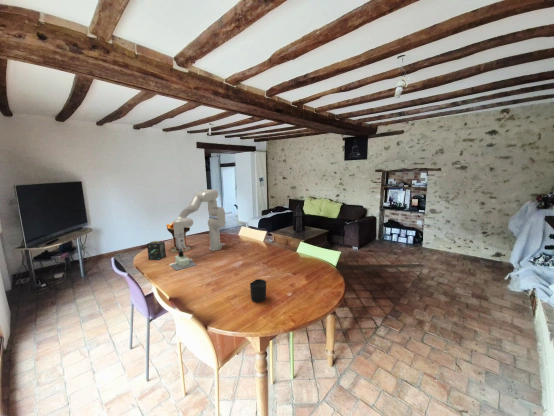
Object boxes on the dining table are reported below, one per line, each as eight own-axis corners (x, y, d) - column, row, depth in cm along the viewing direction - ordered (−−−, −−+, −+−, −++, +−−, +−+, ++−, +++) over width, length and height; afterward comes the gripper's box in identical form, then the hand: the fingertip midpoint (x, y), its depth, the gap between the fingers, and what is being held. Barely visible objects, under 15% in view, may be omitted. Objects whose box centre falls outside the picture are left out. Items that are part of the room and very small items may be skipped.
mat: (191, 261, 193) (191, 260, 193) (196, 265, 184) (196, 264, 184) (171, 266, 183) (171, 265, 183) (176, 270, 174) (175, 270, 174)
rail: (191, 260, 195) (191, 258, 195) (192, 260, 194) (192, 259, 194) (169, 265, 184) (169, 264, 184) (170, 266, 182) (170, 264, 182)
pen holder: (267, 301, 130) (267, 285, 129) (251, 304, 128) (250, 287, 127) (265, 293, 139) (264, 278, 138) (249, 295, 137) (249, 280, 136)
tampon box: (166, 256, 206) (164, 240, 204) (160, 260, 197) (158, 243, 195) (155, 255, 207) (153, 240, 205) (148, 259, 198) (146, 243, 196)
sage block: (183, 254, 191) (188, 259, 183) (184, 259, 192) (189, 264, 184) (175, 256, 187) (180, 261, 178) (175, 261, 188) (180, 267, 179)
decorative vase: (188, 252, 214) (185, 223, 210) (164, 253, 214) (160, 225, 210) (196, 245, 234) (193, 219, 230) (175, 246, 235) (171, 220, 231)
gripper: (187, 235, 181) (188, 257, 184) (181, 232, 192) (182, 252, 195) (177, 237, 176) (179, 259, 179) (171, 233, 187) (173, 254, 190)
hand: (181, 256), depth 187 cm, fingers closed
